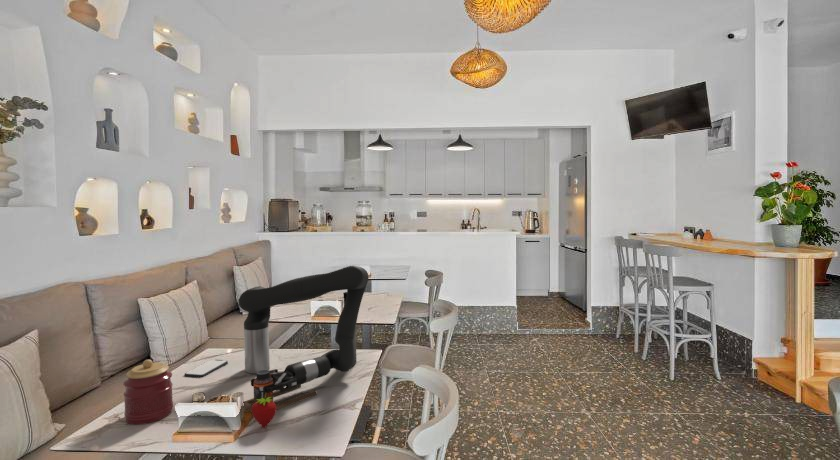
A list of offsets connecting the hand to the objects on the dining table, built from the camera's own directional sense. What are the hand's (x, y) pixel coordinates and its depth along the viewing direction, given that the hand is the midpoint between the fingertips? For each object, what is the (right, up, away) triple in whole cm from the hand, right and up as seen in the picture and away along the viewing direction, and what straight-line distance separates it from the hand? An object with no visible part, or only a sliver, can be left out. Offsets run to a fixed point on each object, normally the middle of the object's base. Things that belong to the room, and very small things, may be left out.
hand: (257, 386), depth 137 cm
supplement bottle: (+1, -7, +2) cm, 7 cm away
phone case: (-34, -7, +35) cm, 49 cm away
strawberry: (+7, -8, -12) cm, 16 cm away
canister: (-32, -8, -4) cm, 34 cm away
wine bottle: (+23, -5, +39) cm, 46 cm away
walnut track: (+5, -7, +6) cm, 11 cm away
